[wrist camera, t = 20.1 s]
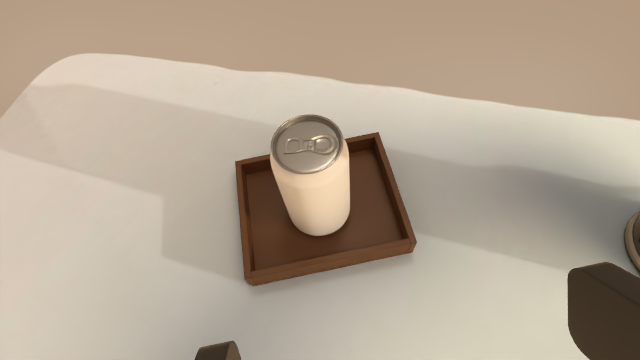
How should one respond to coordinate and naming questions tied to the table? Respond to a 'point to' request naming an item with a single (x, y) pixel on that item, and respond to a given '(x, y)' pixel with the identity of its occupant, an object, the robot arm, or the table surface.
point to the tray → (329, 250)
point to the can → (312, 173)
